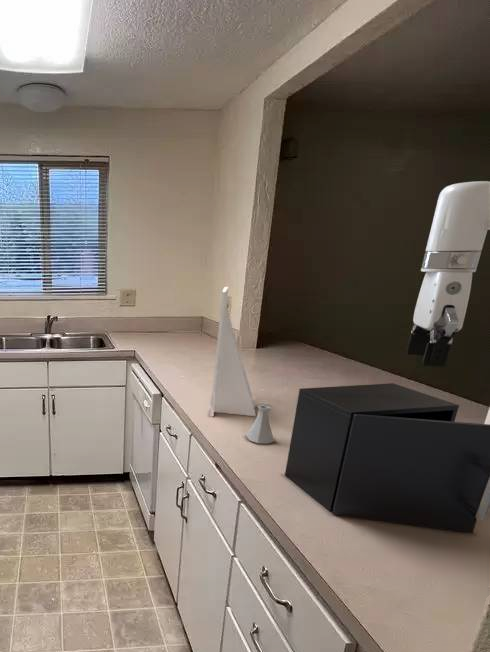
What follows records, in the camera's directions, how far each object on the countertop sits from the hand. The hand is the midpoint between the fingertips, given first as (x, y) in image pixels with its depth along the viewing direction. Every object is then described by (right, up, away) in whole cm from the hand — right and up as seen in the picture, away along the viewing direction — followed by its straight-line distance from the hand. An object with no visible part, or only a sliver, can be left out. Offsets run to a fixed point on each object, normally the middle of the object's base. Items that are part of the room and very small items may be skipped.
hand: (423, 360), depth 80 cm
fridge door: (-1, -33, +3) cm, 33 cm away
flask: (-13, -18, +45) cm, 50 cm away
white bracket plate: (-12, -9, +70) cm, 71 cm away
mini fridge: (-2, -27, +19) cm, 33 cm away
